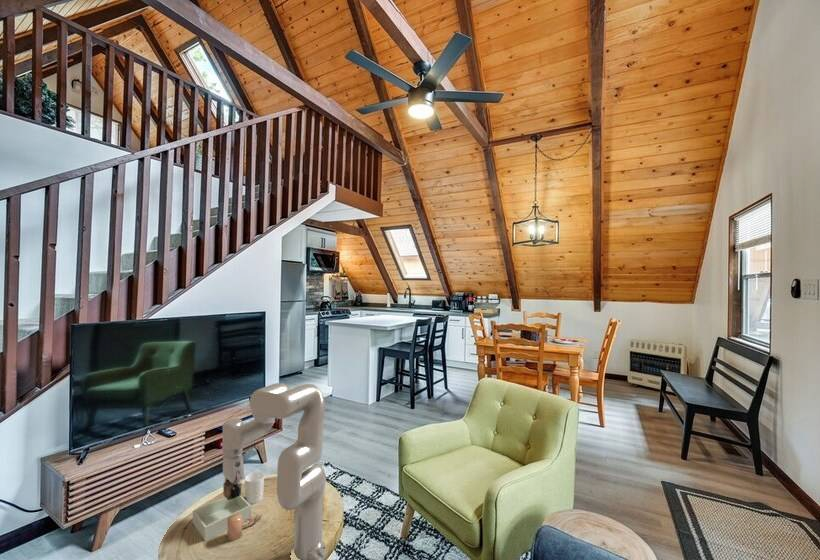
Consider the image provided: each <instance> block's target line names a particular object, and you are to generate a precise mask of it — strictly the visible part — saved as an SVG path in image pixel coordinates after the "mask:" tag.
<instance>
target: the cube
mask: <svg viewBox="0 0 820 560" xmlns="http://www.w3.org/2000/svg"><path fill="white" fill-rule="evenodd" d="M235 480H236V479H235ZM236 483H237V482H234V485H235V484H236ZM231 489H232V484H231V482H230V481H227V482H225V481H224V482H223V489H222V490H223V494H222V495H223V496H224V497H226V498H227V499H228V500H230V499H231ZM240 495H241V496H242V484H241V485H240Z"/></svg>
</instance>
